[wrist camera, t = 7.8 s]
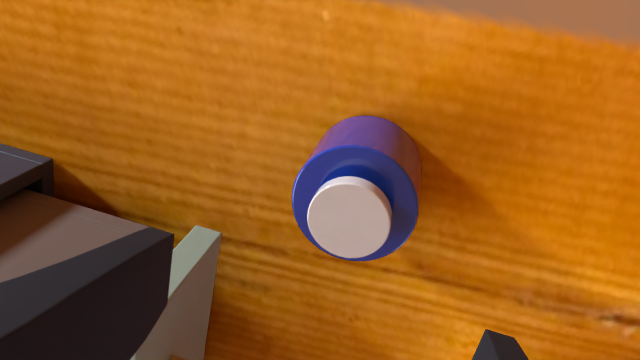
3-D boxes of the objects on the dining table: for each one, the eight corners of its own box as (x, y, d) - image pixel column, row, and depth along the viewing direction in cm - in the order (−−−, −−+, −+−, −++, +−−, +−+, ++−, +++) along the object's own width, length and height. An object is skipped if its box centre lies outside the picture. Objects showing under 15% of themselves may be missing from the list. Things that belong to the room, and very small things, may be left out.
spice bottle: (428, 210, 20) (426, 276, 16) (325, 220, 21) (297, 284, 17) (413, 107, 18) (406, 149, 14) (304, 123, 20) (267, 166, 15)
